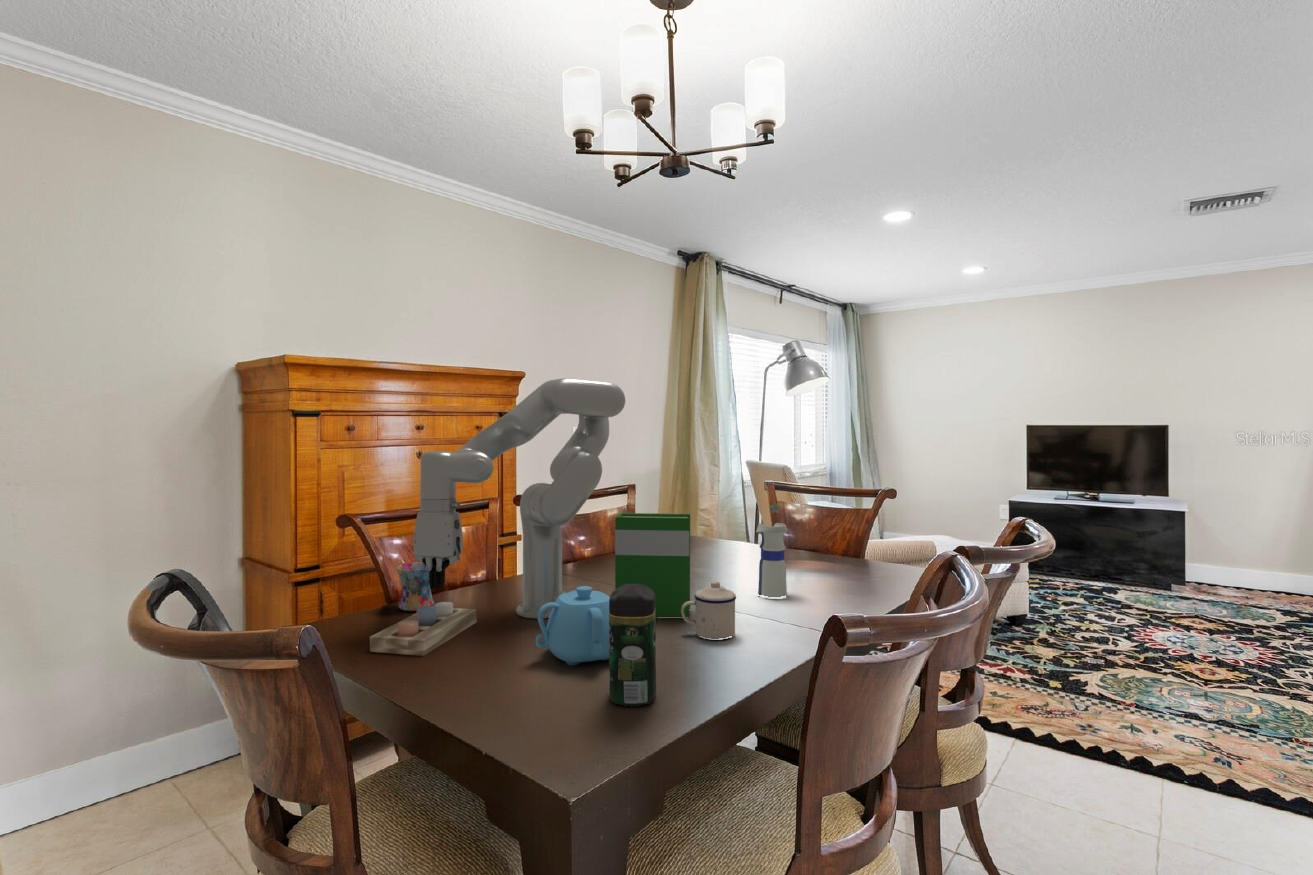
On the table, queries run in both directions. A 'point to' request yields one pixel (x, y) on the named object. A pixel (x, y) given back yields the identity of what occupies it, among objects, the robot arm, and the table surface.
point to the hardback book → (655, 557)
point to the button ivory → (444, 609)
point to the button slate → (426, 616)
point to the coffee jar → (632, 645)
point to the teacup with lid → (713, 612)
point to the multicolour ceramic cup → (414, 586)
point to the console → (423, 634)
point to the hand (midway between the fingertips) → (436, 587)
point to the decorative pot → (577, 626)
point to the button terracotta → (408, 628)
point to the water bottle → (772, 559)
